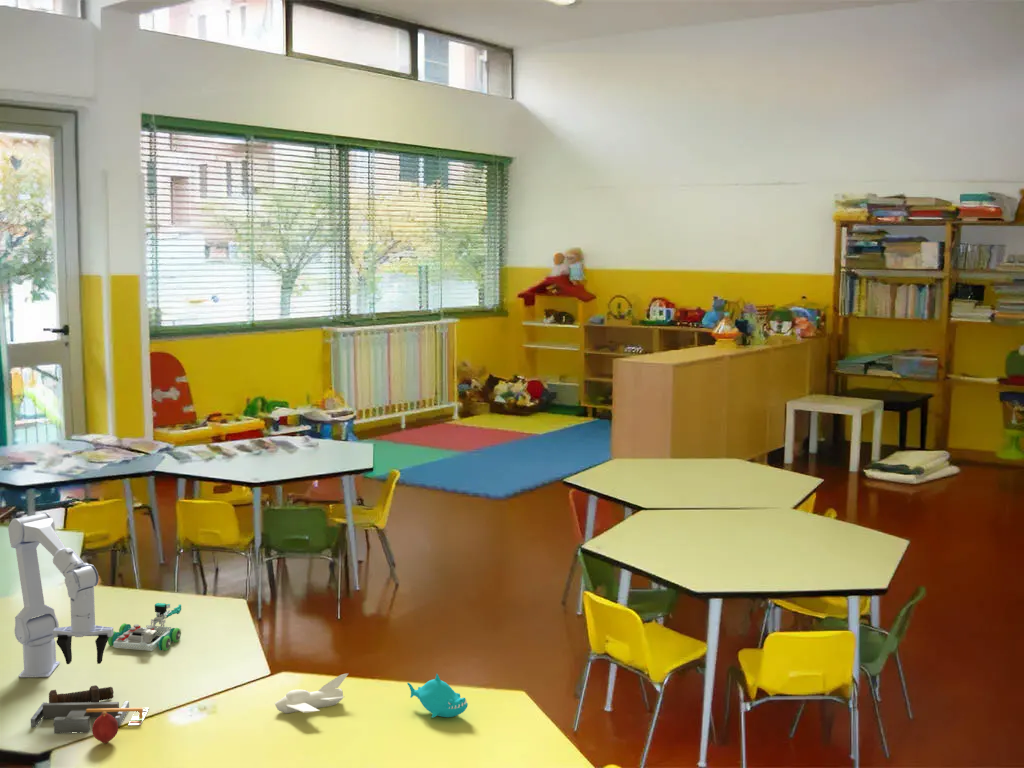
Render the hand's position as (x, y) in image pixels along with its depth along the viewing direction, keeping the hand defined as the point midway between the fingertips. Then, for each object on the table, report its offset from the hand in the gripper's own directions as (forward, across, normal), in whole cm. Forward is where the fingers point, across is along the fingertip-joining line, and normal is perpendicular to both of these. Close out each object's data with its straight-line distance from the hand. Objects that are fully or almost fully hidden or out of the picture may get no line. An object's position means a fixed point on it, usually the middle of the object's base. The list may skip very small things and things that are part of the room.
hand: (84, 662), depth 271 cm
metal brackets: (+9, +5, -14) cm, 18 cm away
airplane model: (+9, +59, -9) cm, 61 cm away
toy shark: (+9, +91, -14) cm, 93 cm away
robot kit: (+10, +8, +39) cm, 41 cm away
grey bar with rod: (+9, +6, -14) cm, 18 cm away
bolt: (+10, +1, -5) cm, 11 cm away
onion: (+9, +12, -26) cm, 30 cm away
